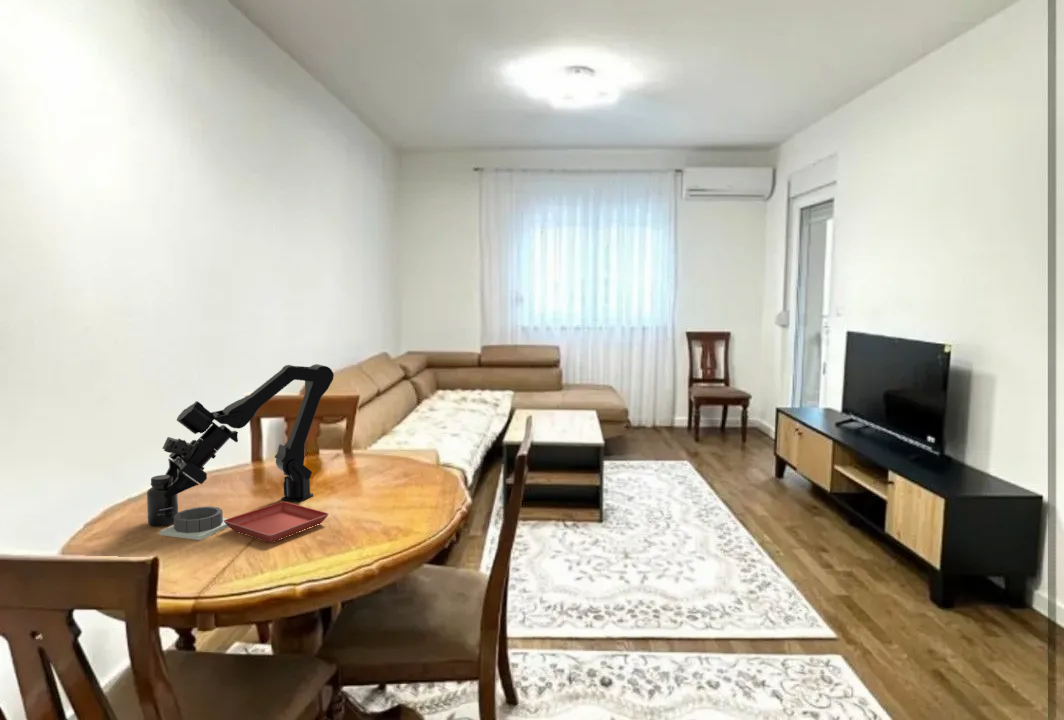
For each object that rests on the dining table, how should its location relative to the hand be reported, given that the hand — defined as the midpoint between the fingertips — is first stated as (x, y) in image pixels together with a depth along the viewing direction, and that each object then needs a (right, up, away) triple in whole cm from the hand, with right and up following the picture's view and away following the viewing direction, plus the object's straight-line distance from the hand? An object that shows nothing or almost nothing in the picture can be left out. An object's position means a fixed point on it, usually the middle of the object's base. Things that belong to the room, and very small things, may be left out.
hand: (162, 492), depth 165 cm
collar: (+11, -8, -4) cm, 14 cm away
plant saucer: (+30, -9, -2) cm, 32 cm away
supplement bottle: (0, -8, +1) cm, 8 cm away
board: (+11, -8, -4) cm, 14 cm away
